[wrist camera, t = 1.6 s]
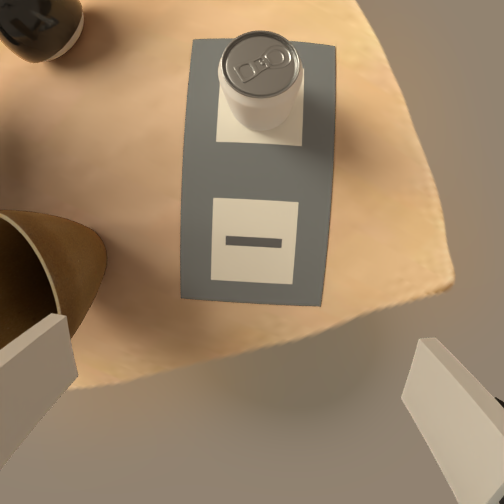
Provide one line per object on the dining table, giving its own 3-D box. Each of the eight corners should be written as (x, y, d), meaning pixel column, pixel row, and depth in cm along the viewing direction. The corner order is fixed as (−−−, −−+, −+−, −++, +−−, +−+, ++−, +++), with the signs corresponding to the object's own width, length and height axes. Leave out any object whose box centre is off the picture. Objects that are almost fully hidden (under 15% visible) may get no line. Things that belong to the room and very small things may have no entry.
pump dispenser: (81, -6, 28) (25, -55, 13) (105, 34, 30) (40, -19, 15) (28, 40, 29) (-38, 9, 14) (46, 84, 31) (-32, 57, 16)
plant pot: (27, 216, 35) (-61, 237, 19) (116, 180, 34) (25, 184, 18) (60, 320, 38) (-11, 376, 22) (151, 302, 37) (89, 374, 21)
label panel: (181, 297, 36) (180, 298, 36) (193, 39, 30) (193, 39, 30) (320, 305, 36) (320, 306, 36) (334, 46, 30) (335, 45, 29)
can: (302, 114, 31) (323, 79, 20) (249, 142, 32) (243, 120, 21) (271, 66, 30) (276, 13, 19) (219, 93, 31) (198, 50, 19)
